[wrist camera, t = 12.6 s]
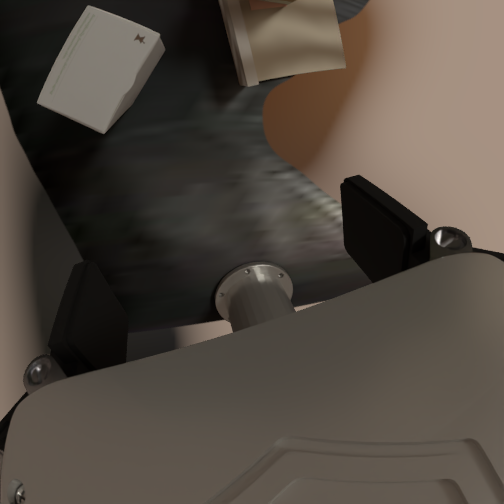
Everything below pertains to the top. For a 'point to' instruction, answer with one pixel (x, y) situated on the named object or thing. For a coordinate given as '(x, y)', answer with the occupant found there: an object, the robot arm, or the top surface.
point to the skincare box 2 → (280, 1)
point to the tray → (281, 38)
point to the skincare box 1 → (101, 69)
